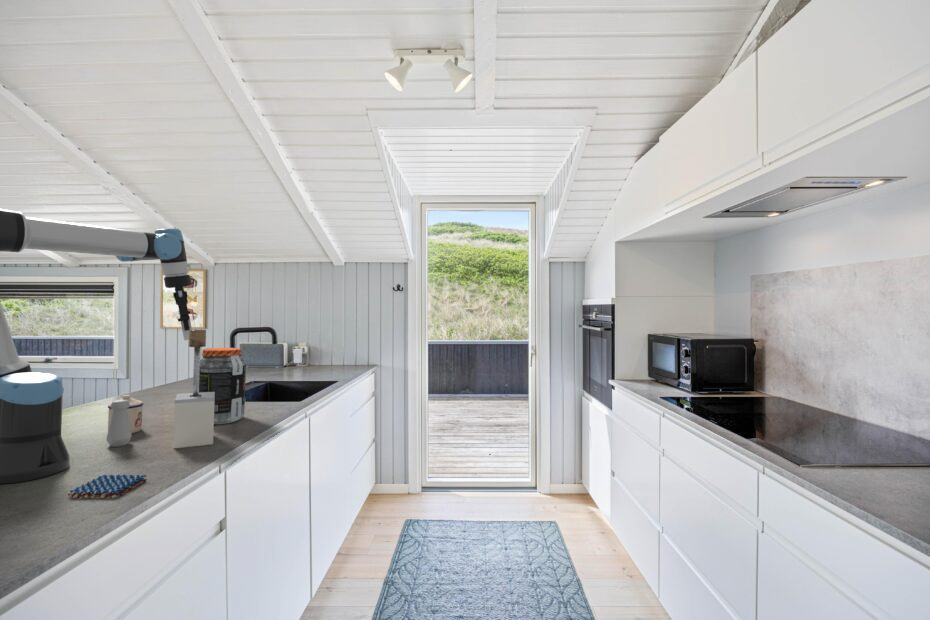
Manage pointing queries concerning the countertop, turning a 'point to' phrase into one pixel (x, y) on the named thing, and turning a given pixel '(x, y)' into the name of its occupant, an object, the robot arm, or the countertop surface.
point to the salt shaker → (119, 424)
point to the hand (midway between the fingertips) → (188, 336)
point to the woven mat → (107, 486)
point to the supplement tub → (224, 382)
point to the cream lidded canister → (131, 413)
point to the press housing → (193, 419)
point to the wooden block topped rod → (196, 355)
